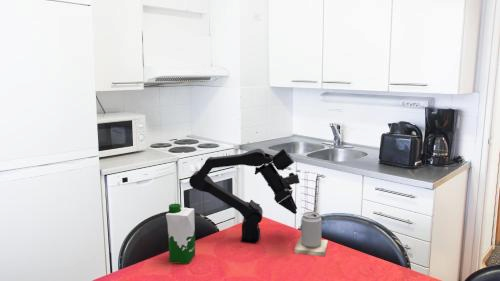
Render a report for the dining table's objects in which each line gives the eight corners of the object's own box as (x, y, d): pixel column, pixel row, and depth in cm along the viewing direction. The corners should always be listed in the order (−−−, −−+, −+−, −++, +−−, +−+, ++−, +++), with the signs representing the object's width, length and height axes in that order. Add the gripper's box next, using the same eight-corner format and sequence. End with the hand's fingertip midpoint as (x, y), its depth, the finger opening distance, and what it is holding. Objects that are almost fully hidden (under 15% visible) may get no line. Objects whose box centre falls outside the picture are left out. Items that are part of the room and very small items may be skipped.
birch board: (294, 252, 148) (294, 249, 147) (299, 240, 158) (299, 237, 158) (324, 256, 145) (324, 252, 144) (327, 243, 155) (327, 240, 155)
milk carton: (175, 252, 149) (173, 201, 146) (198, 254, 148) (196, 202, 144) (166, 263, 141) (163, 209, 137) (190, 265, 139) (188, 210, 136)
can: (324, 247, 148) (325, 216, 146) (305, 249, 147) (305, 218, 145) (316, 239, 156) (316, 209, 154) (298, 241, 154) (298, 211, 152)
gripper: (289, 167, 144) (314, 203, 143) (290, 164, 162) (312, 196, 161) (263, 184, 145) (288, 220, 144) (268, 180, 163) (290, 211, 162)
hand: (296, 211), depth 153 cm, fingers open, 9 cm apart
